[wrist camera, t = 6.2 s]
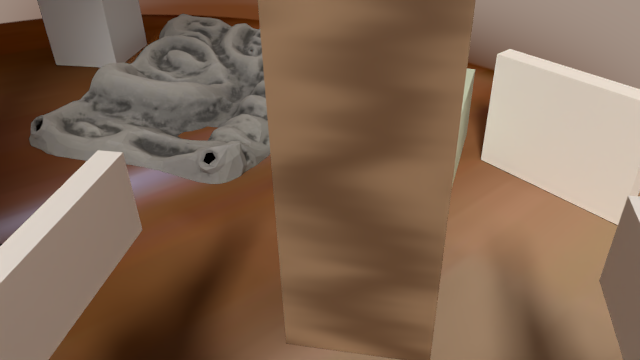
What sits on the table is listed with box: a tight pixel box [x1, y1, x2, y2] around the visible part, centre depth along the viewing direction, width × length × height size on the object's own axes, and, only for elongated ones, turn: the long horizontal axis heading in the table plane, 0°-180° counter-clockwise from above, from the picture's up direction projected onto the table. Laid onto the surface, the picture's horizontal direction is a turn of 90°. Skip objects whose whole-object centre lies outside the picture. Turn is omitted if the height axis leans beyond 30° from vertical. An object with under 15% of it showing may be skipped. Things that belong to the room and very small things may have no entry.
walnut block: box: [258, 0, 475, 360], centre depth 21 cm, size 6×6×18 cm
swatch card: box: [481, 49, 640, 225], centre depth 32 cm, size 2×9×7 cm, turn 39°
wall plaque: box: [29, 14, 270, 184], centre depth 45 cm, size 24×19×4 cm
